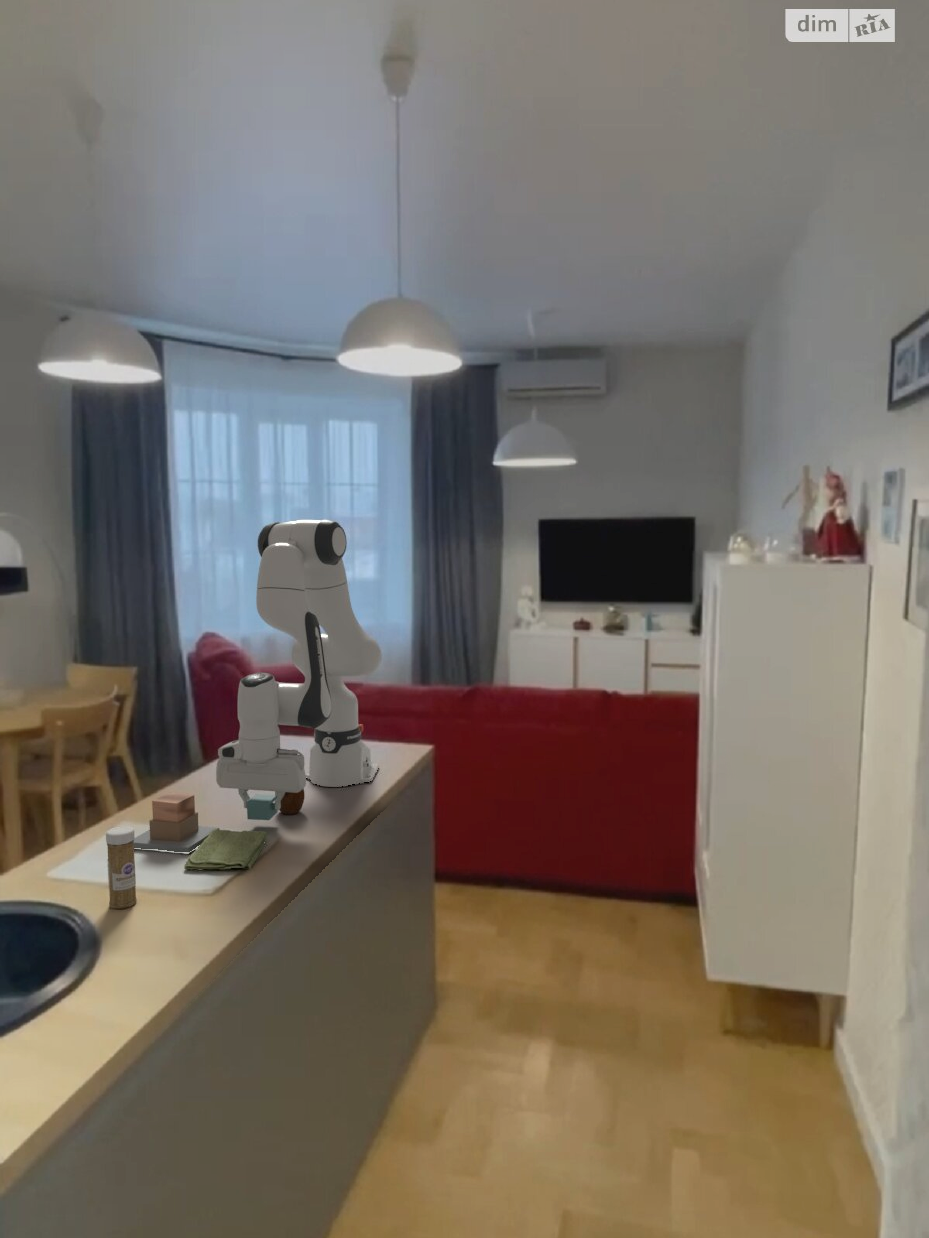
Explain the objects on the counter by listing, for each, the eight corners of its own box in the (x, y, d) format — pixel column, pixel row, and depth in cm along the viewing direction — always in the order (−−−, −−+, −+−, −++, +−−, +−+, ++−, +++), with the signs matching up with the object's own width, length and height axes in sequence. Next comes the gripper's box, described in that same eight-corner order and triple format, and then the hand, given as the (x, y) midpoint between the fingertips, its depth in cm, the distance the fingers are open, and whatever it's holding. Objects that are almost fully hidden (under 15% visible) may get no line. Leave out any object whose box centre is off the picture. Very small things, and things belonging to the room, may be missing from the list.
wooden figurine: (271, 812, 194) (269, 749, 192) (291, 806, 198) (290, 744, 197) (288, 818, 189) (286, 754, 188) (308, 812, 193) (307, 749, 192)
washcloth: (181, 874, 159) (181, 858, 159) (210, 841, 176) (210, 826, 176) (249, 874, 159) (249, 858, 158) (271, 841, 176) (271, 826, 176)
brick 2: (256, 811, 187) (255, 794, 186) (277, 812, 186) (276, 795, 185) (247, 819, 182) (246, 801, 181) (269, 820, 181) (268, 802, 181)
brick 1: (171, 810, 178) (170, 792, 178) (194, 813, 177) (194, 794, 176) (152, 819, 173) (152, 800, 172) (177, 822, 171) (176, 803, 170)
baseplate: (162, 829, 182) (161, 804, 182) (219, 834, 179) (218, 809, 179) (128, 848, 171) (127, 823, 170) (188, 854, 168) (187, 828, 167)
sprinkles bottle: (123, 911, 142) (120, 835, 141) (103, 907, 144) (99, 832, 142) (142, 900, 146) (139, 827, 145) (122, 896, 148) (119, 823, 147)
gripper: (309, 746, 183) (311, 806, 184) (225, 741, 187) (228, 800, 189) (297, 754, 177) (299, 816, 178) (211, 749, 181) (214, 810, 183)
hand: (262, 808), depth 184 cm, fingers closed on brick 2, 5 cm apart
